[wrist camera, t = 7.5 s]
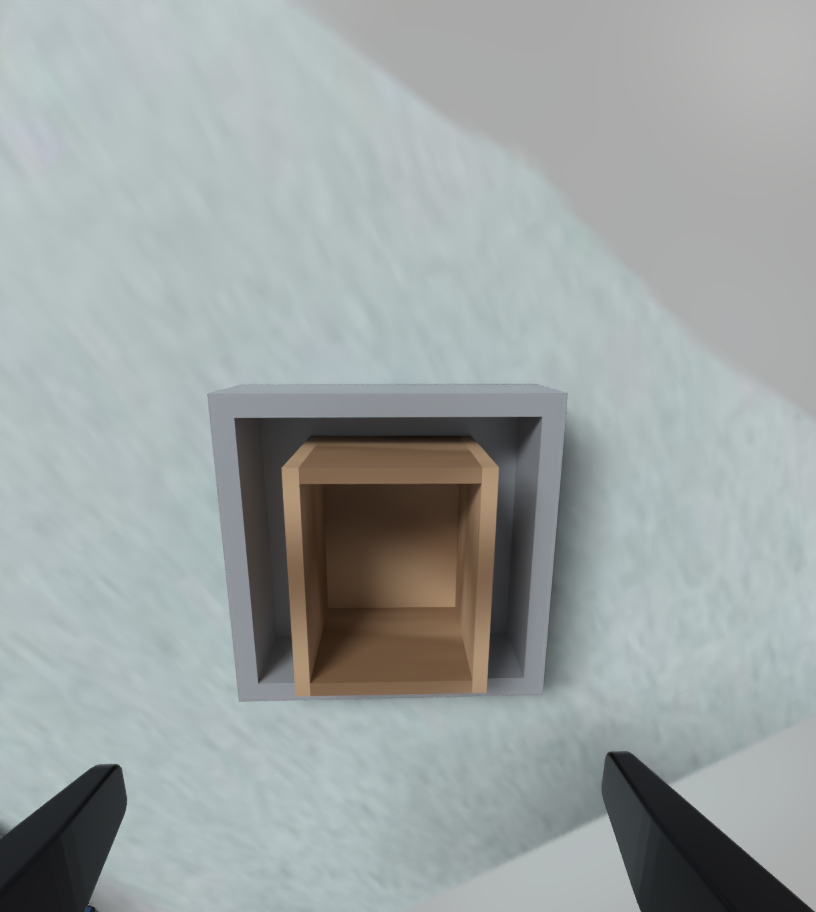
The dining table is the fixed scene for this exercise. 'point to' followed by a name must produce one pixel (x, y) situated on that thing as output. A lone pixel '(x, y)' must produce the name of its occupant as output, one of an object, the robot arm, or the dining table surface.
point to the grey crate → (386, 414)
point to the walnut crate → (390, 564)
